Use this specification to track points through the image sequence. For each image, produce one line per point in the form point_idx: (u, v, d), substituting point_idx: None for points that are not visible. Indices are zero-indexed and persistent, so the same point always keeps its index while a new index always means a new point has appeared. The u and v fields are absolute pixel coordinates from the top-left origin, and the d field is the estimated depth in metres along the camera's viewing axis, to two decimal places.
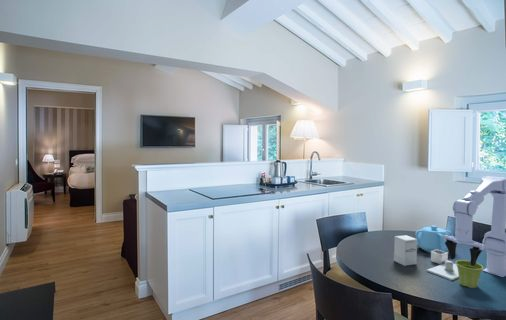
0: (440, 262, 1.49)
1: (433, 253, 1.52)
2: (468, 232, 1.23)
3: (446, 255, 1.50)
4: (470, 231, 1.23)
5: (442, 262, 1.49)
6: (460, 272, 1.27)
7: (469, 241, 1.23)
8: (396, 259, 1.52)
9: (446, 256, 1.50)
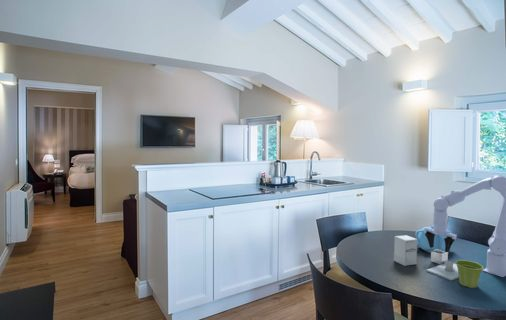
0: (440, 262, 1.49)
1: (433, 253, 1.52)
2: (443, 224, 1.48)
3: (446, 255, 1.50)
4: (445, 224, 1.48)
5: (442, 262, 1.49)
6: (460, 272, 1.27)
7: (444, 232, 1.48)
8: (396, 259, 1.52)
9: (446, 256, 1.50)
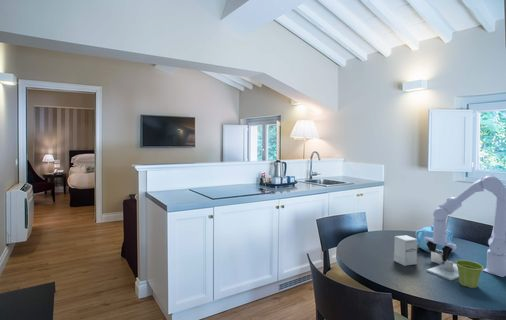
0: (440, 262, 1.49)
1: (433, 253, 1.52)
2: (443, 234, 1.48)
3: None
4: (445, 233, 1.49)
5: (442, 262, 1.49)
6: (460, 272, 1.27)
7: (444, 242, 1.49)
8: (396, 259, 1.52)
9: None
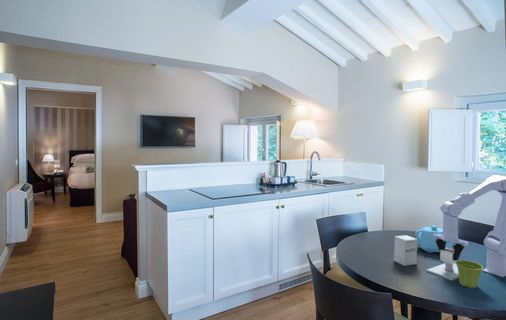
0: (451, 262, 1.37)
1: (443, 252, 1.40)
2: (454, 231, 1.36)
3: None
4: (456, 230, 1.37)
5: (453, 262, 1.37)
6: (460, 272, 1.27)
7: (455, 239, 1.37)
8: (396, 259, 1.52)
9: None
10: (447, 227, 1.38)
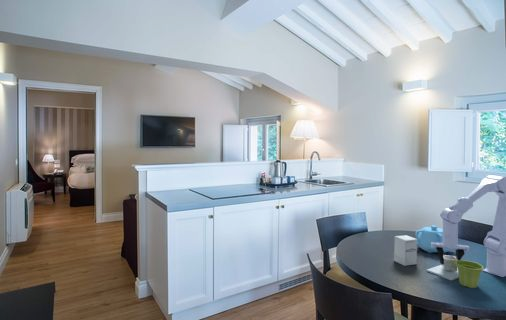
0: (456, 268, 1.37)
1: (447, 260, 1.38)
2: (457, 237, 1.37)
3: None
4: (457, 236, 1.38)
5: None
6: (460, 272, 1.27)
7: (457, 245, 1.38)
8: (396, 259, 1.52)
9: None
10: (447, 234, 1.38)
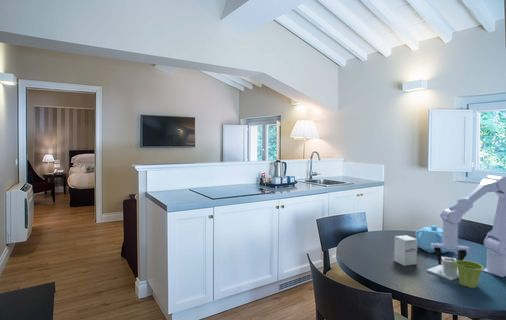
0: (455, 271, 1.37)
1: (447, 262, 1.38)
2: (457, 238, 1.37)
3: None
4: (457, 237, 1.38)
5: None
6: (460, 272, 1.27)
7: (457, 246, 1.38)
8: (396, 259, 1.52)
9: None
10: (447, 234, 1.38)
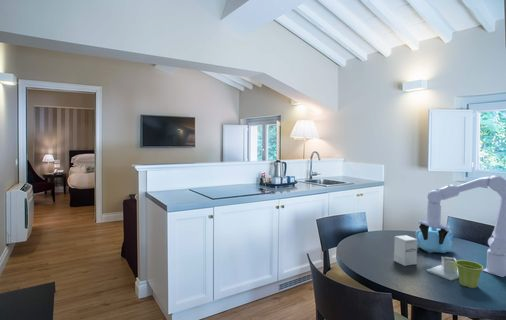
0: (455, 271, 1.37)
1: (447, 262, 1.38)
2: (437, 217, 1.49)
3: None
4: (438, 216, 1.49)
5: None
6: (460, 272, 1.27)
7: (438, 224, 1.49)
8: (396, 259, 1.52)
9: None
10: (428, 212, 1.51)
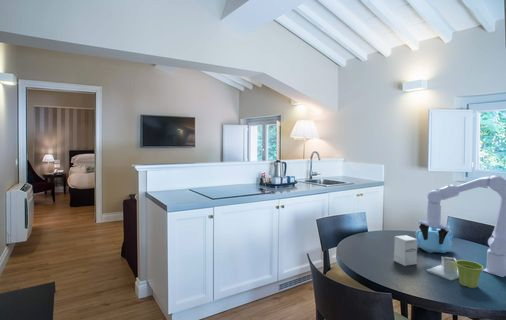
0: (455, 271, 1.37)
1: (447, 262, 1.38)
2: (437, 217, 1.49)
3: None
4: (438, 216, 1.49)
5: None
6: (460, 272, 1.27)
7: (438, 224, 1.49)
8: (396, 259, 1.52)
9: None
10: (428, 212, 1.51)
